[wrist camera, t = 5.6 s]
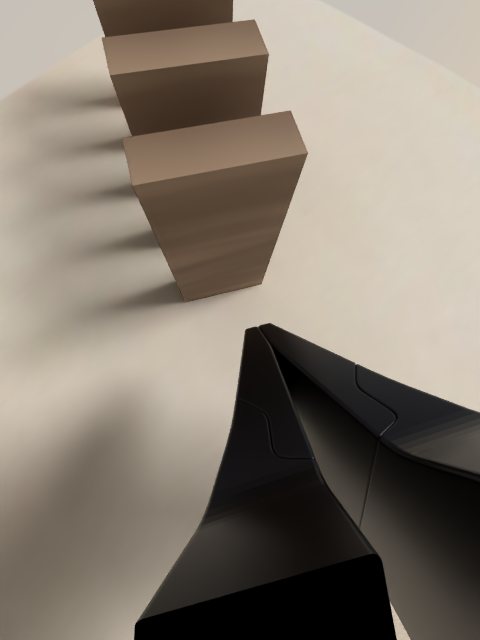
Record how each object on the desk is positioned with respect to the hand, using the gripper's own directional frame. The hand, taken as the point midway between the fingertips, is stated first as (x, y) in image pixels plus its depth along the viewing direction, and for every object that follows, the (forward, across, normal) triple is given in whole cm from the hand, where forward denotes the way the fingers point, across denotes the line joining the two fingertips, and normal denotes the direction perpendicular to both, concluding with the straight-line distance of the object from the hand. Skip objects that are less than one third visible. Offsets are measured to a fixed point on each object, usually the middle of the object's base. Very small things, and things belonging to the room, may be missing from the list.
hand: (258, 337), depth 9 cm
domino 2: (+12, 0, -1) cm, 12 cm away
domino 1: (+9, 0, +2) cm, 9 cm away
